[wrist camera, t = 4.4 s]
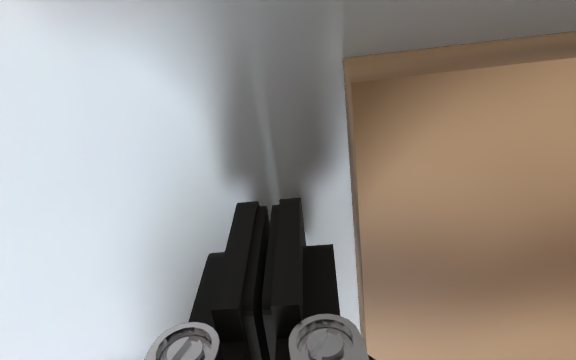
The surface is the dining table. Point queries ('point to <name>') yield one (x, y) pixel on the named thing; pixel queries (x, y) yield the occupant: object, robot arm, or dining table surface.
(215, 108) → the dining table surface
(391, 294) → the tan cardboard panel
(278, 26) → the dining table surface
